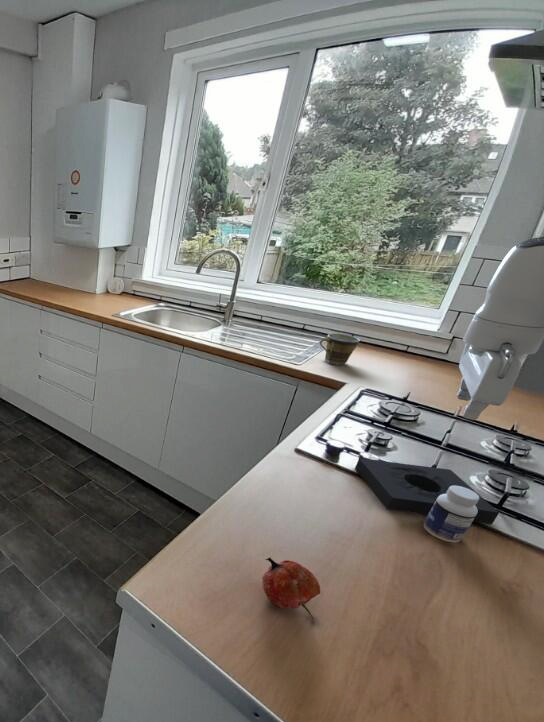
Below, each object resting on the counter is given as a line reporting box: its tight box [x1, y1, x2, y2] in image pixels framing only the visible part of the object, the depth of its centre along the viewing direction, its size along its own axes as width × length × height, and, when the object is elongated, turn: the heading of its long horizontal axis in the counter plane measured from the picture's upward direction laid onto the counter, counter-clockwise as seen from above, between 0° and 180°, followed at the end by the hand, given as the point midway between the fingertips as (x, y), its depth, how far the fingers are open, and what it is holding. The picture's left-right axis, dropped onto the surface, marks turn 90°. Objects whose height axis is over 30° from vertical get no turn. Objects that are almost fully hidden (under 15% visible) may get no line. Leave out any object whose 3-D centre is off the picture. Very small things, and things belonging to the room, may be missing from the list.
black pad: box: [354, 458, 500, 525], centre depth 87 cm, size 18×14×3 cm
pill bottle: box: [423, 486, 479, 543], centre depth 76 cm, size 5×5×10 cm
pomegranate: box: [261, 556, 321, 620], centre depth 63 cm, size 7×7×10 cm
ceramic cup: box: [319, 333, 361, 366], centre depth 155 cm, size 13×10×10 cm
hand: (465, 407), depth 75 cm, fingers open, 8 cm apart
